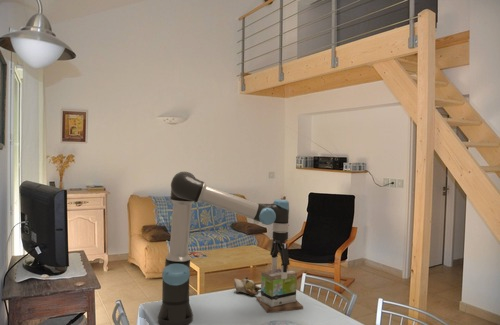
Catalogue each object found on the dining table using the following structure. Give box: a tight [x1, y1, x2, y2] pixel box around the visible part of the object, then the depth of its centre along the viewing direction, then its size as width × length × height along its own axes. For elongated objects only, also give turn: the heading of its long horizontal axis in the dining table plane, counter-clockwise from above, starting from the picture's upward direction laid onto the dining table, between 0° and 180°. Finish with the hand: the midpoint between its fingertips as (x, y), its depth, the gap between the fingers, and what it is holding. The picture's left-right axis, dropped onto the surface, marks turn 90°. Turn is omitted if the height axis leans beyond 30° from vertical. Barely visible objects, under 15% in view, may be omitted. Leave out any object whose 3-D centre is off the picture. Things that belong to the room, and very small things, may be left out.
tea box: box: [260, 268, 298, 307], centre depth 197 cm, size 15×10×15 cm
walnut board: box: [256, 296, 304, 314], centre depth 197 cm, size 18×17×2 cm
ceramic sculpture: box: [233, 277, 261, 296], centre depth 212 cm, size 11×9×15 cm
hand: (278, 274), depth 197 cm, fingers open, 13 cm apart
